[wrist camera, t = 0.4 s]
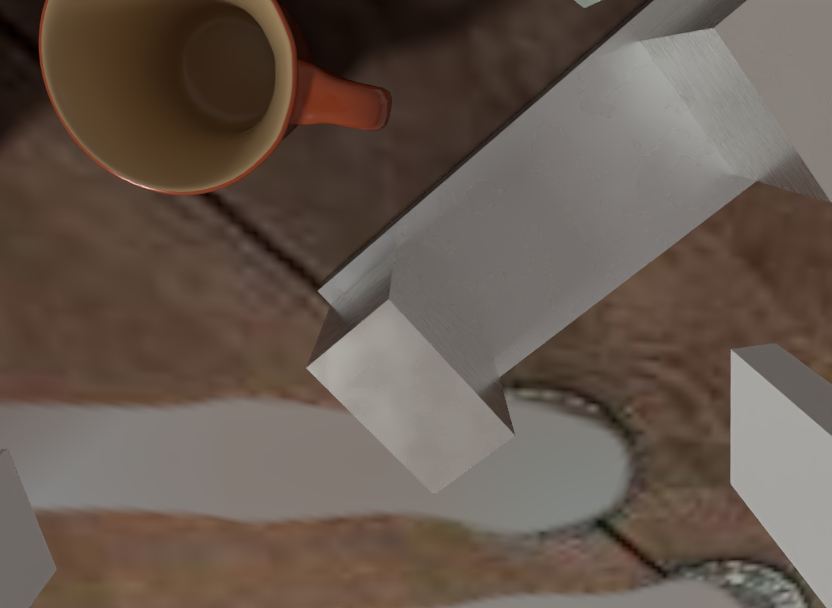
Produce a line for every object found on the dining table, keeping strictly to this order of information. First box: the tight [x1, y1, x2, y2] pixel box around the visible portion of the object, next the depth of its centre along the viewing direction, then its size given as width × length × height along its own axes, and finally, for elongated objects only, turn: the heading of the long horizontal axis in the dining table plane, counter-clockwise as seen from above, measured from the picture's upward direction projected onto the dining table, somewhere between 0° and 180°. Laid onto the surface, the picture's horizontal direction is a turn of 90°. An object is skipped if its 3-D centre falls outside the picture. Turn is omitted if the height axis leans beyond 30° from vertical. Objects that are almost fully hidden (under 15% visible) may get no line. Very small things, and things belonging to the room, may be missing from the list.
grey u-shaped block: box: [306, 0, 832, 495], centre depth 30 cm, size 10×25×10 cm, turn 131°
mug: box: [39, 0, 392, 195], centre depth 27 cm, size 12×9×10 cm
